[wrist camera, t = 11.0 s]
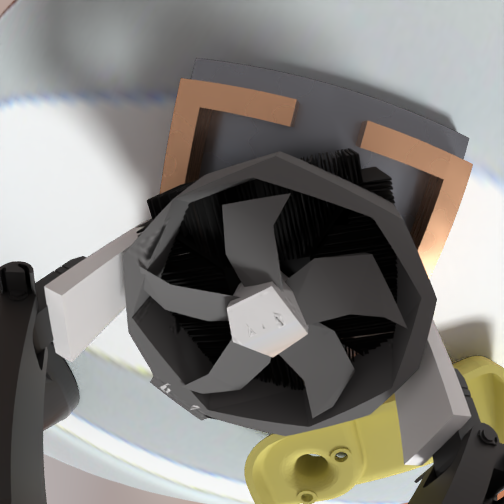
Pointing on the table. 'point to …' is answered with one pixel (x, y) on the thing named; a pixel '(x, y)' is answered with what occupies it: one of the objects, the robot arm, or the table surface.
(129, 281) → the cpu cooler
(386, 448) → the plastic component
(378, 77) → the table surface
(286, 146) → the board
